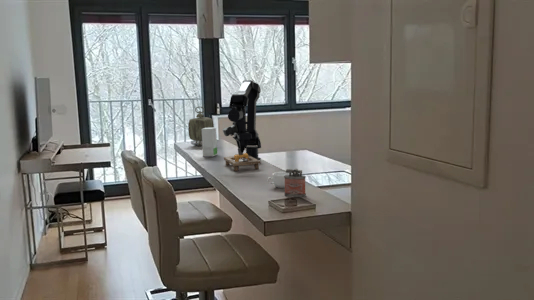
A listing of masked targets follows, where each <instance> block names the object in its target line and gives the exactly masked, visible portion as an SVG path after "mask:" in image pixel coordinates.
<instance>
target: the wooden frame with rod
mask: <svg viewBox="0 0 534 300" xmlns="http://www.w3.org/2000/svg"><path fill="white" fill-rule="evenodd" d="M243 158H244V157H243ZM248 159H249V161H247V162H243V160H241V159H240V158H239V161H238V162H235V158H234V155H232V156H223V161H225V166H230V165H232V166H233V171H234V172H238V171H239V166H247V165H254V170H259V169H260V165H259V164H261V160H260V159H258V160H257V159H255V158H253V157H252V156H250V155H248Z"/></svg>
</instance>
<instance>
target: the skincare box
mask: <svg viewBox="0 0 534 300" xmlns="http://www.w3.org/2000/svg"><path fill="white" fill-rule="evenodd" d="M201 130H202V142H201V143H202V144H201V146H202V157H206V158H207V157H215V156H218V142H217V141H218V140H217V127H216V126H214V128H203V129H201Z"/></svg>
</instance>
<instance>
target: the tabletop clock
mask: <svg viewBox="0 0 534 300" xmlns="http://www.w3.org/2000/svg"><path fill="white" fill-rule="evenodd" d="M199 108H201V109H203V111H201V110H199V111H197V109H199ZM194 111H195V112H196V113H197V114H196V116H195V118H191V119H189V120H188V123H187V124H188V128H187V129H188V137H189V139H190V140H192V141H195V143H198V142H199V143H198V144H197V145H198V146H199V145H201V146H202V144H201V143H202V142H201V141H202V130H201V129H203V128H214V127H215V126H214V125H215V124H214V121H213V119H212V118H211V117H205V115H204V113H205V108H204V107H203V106H196V107H195V109H194Z"/></svg>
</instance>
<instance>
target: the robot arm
mask: <svg viewBox="0 0 534 300" xmlns="http://www.w3.org/2000/svg"><path fill="white" fill-rule="evenodd" d="M261 89H262V88H261V86H260V84H259V83H257V82H255V81H254V80H252V79H245V80H243V81H242V84H241V85H240V88H239V89H238V90H237V91H234V92H233V93H232V94H231V96H230V100H229V105H228V108H229V109H231V110H229V111H228V113H227V118H228V120H229V121H230V122H232V125H229V126H227V127H224V128H223V129H222V133H223V135H224V136H225V137H229V136H231V137H232V138H233V140H235V143H236V145H237V150H238V149H239V148H240V150H241V152H243V153H247V154H248V155H250V156H252V157H253V158H255V159H257V160H260V159H262V158H261V157H259V149H261V148H262V142H261V139H260V136H259V133H258V131H257V130H256V126H257V125H256V124H257V120H256V119H257V102H258V100H259V98H260V95H261V93H262V91H261ZM246 109H247V111H246ZM246 113H247V114H246ZM244 151H245V152H244Z"/></svg>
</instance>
